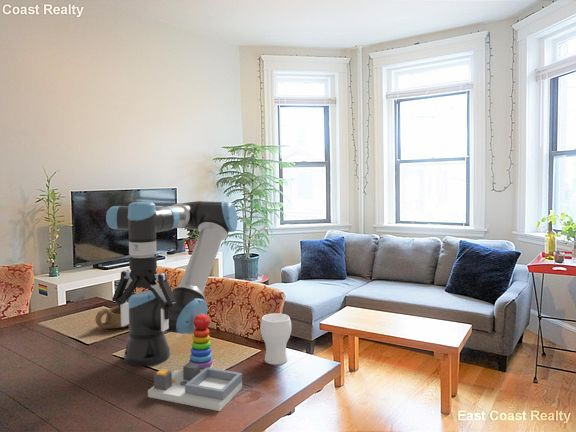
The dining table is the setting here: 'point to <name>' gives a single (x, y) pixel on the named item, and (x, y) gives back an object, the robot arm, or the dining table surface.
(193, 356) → the stacking toy
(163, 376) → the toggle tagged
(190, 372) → the toggle
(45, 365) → the dining table surface
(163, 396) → the panel
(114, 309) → the brown mug
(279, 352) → the cup
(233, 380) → the frame
